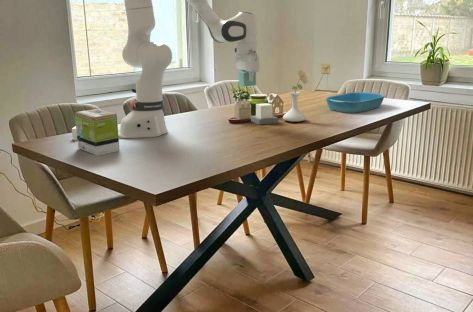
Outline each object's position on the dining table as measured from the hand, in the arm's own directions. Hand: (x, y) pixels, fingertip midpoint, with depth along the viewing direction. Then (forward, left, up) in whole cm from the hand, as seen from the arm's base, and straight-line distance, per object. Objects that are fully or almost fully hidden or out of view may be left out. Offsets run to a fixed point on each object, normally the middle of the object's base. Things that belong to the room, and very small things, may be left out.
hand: (247, 80), depth 222 cm
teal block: (0, 0, -2) cm, 2 cm away
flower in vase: (+25, -1, -21) cm, 33 cm away
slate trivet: (+10, +3, -21) cm, 23 cm away
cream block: (+10, +3, -18) cm, 21 cm away
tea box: (-70, -20, -21) cm, 76 cm away
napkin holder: (-75, +7, -22) cm, 78 cm away
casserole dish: (+71, +16, -21) cm, 76 cm away
